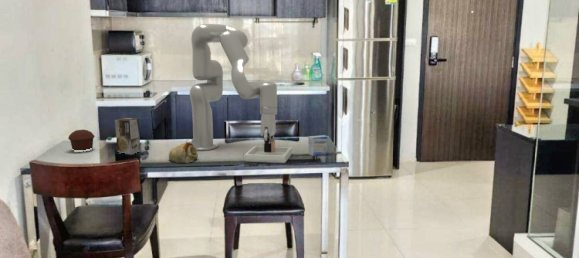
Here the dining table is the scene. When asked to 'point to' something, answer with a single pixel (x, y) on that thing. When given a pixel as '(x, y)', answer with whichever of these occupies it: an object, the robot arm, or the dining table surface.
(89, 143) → the muffin
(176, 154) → the pastry
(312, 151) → the medicine box
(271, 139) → the shaker
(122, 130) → the coffee box
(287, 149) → the tray
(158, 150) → the dining table surface
